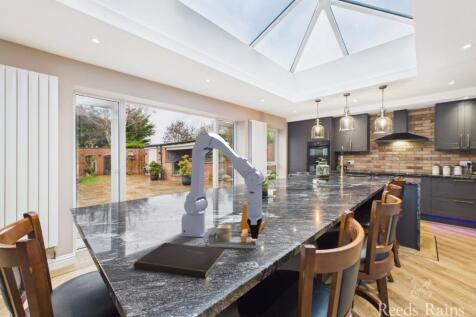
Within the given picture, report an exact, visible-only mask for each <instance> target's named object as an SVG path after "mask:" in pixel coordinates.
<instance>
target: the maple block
mask: <svg viewBox="0 0 476 317" xmlns="http://www.w3.org/2000/svg"><path fill="white" fill-rule="evenodd" d="M216 228H217V241H227V242H230V240H231V233H232V224H231V225H230V224H218V226H217V227H216Z"/></svg>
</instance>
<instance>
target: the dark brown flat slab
mask: <svg viewBox="0 0 476 317" xmlns="http://www.w3.org/2000/svg"><path fill="white" fill-rule="evenodd" d="M224 251H225V249H224V248H219V247H207V246H197V245H191V244H180V243H171V242H164V243H163V244H161V245H159V246H158V247H156V248H155V249H153V250H151V251H150V252H148V253H147V254H145V255H144V256H142V257H140V258H138V259H137V260H135V261H134V264H133V268H134V269H137V270H142V271H150V272H155V273H163V274H170V275H176V276H184V277H188V278H190V277H191V278H197V279H203V280H205V279H206V278H207V276H208V274H209V273H210V272H211V271H212V269H213V268H214V267H215V266H216V264H217V263H218V262H219V260H220V259H221V258H222V256H223V255H224Z"/></svg>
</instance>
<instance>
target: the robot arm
mask: <svg viewBox="0 0 476 317" xmlns="http://www.w3.org/2000/svg"><path fill="white" fill-rule="evenodd" d="M212 150H219V151H220V152H221V153H222V154H223V155H224V156H225V157H226V158H227V159H228V160H229V161H230V162H232V168H233V169H234V170H235V171H236V172H237V173H238V174H239V175H240V177H242V179H244V183H245V184H244V185H246V203H247V217H248V220H247V223H248V225H249V228H250V232H249V233H250V234H251V237H252V239H257V240H258V238H259V233H260V232H259V228H260V225H261V223H262V221H263V218H265V217H266V213H263V182H264V179H265V178H264V174H263V172H262V171H260V170H258V169H257V168H256V167H255V166H253V165H252V164H251V163H250V162H249V159H248V158H247V157H243V156H239V155H238V154H237V153H236V152H235V151H234V150H233V149H232V147H230V145H229V144H228V143H227V142H226V141H225V139H224V138H223V137H221V136H220V135H219V134H218V133H216V132H215V133H213V132H208V131H201V132H200V133H198V134H197V135H196V136H195V142H194V145H193V146H192V150H191V171H190V172H191V174H190V175H191V176H190V191H189V192H188V193H187V195H186V197H185V202H184V203H183V208H184V211H185V212H184V213H183V214H182V216H181V235H180V236H181V237H194V238H195V237H199V238H203V237H204V236H205V235H206V234H207V232H208V231H209V230H208V229H206V218H205V217H206V215H205V212H206V209H207V208H208V206H209V205H208V204H209V202H208V199H207V198H208V197H207V193H206V191H205V190H204V188H205V168H206V167H205V164H206V163H205V162H206V154H208V153H209V152H210V151H212Z"/></svg>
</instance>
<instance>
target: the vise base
mask: <svg viewBox="0 0 476 317" xmlns="http://www.w3.org/2000/svg"><path fill="white" fill-rule="evenodd" d="M241 234H242V232H241V233H237V232H236V233H235V232H231V240H230V242H227V241H217V227H213V228H212V229H211V231H210V232H209V234H208V242H207V243H206V247H209V248H231V249H232V248H234V249H235V248H237V249H239V248H240V249H256V248H257V240H258V238H257V239H252V237H251V233H248V238H247V242H241Z"/></svg>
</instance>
